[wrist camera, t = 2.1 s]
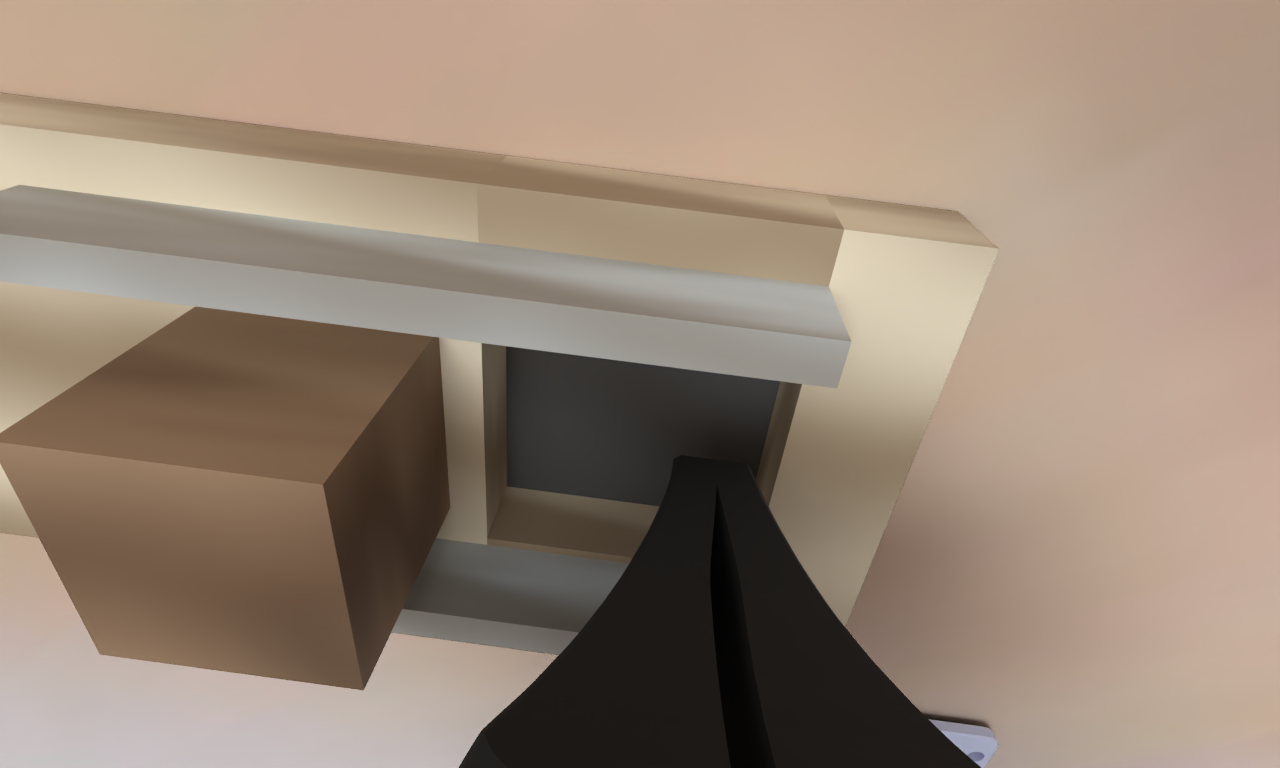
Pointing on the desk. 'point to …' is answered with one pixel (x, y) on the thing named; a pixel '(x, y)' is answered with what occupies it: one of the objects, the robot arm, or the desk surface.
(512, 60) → the desk surface
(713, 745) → the robot arm
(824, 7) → the desk surface
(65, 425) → the walnut cube
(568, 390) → the channel board
